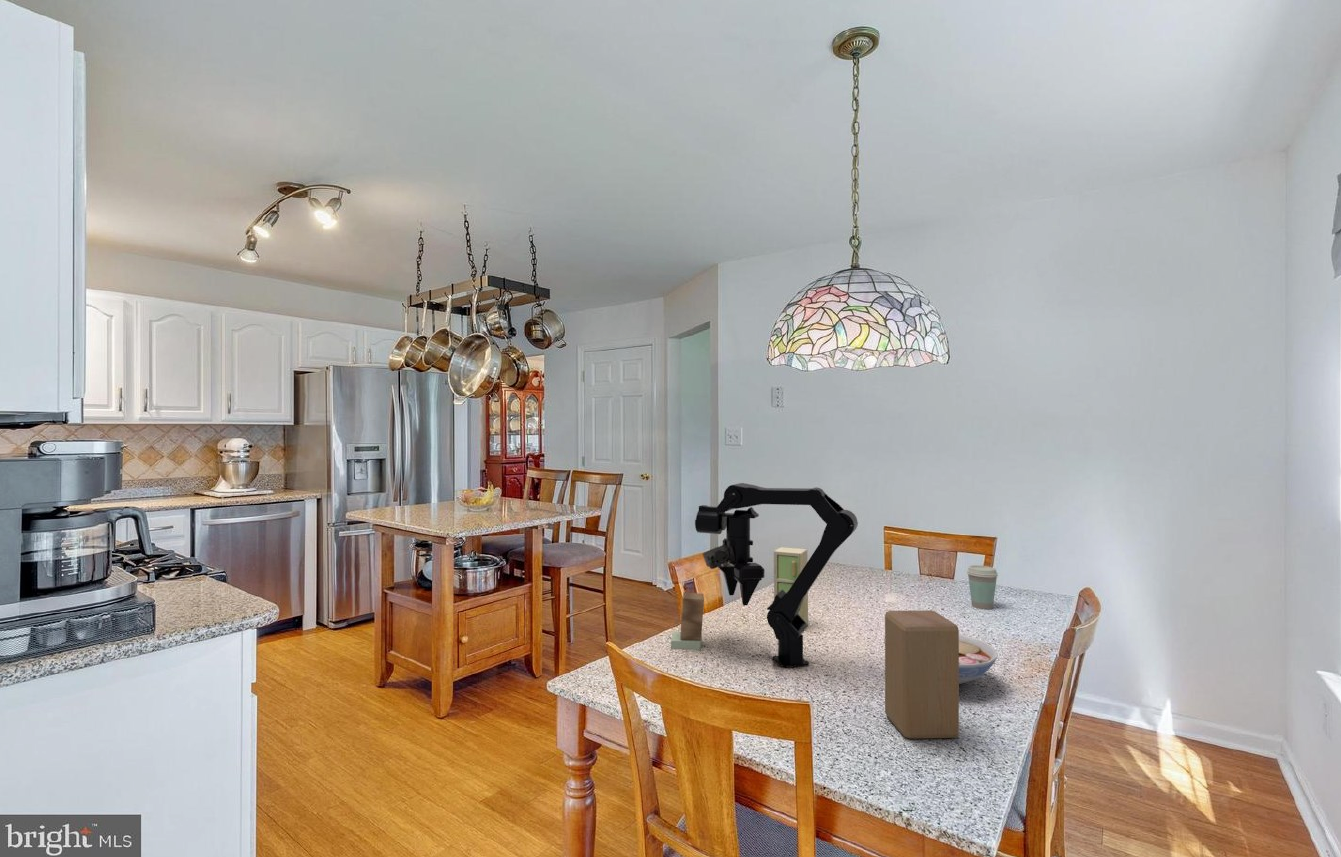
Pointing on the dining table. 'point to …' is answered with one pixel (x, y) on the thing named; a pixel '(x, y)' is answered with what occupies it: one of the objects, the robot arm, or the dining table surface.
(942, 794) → the dining table surface
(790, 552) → the toy refrigerator
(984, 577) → the coffee cup
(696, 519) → the robot arm
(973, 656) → the ramen bowl
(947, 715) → the wooden block
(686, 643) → the sage top slab
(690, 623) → the walnut pillar
